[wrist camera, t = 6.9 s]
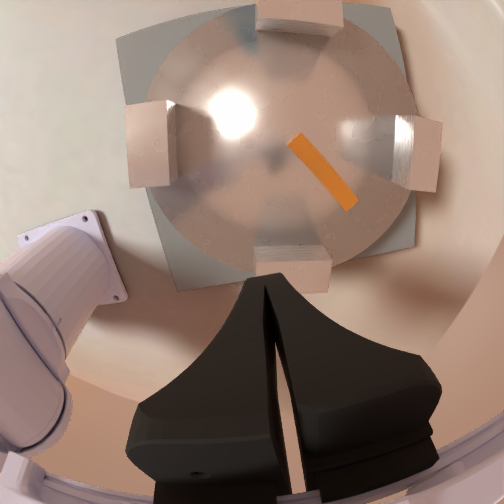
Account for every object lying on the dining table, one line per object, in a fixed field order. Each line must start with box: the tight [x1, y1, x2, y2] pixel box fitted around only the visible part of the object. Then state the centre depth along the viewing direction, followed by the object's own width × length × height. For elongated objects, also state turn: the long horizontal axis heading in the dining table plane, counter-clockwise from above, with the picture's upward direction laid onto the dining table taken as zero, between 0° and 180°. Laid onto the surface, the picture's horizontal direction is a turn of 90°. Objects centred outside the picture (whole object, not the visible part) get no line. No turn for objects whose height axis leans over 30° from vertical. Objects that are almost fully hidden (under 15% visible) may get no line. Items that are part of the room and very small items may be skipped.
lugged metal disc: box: [125, 0, 442, 294], centre depth 14 cm, size 16×16×4 cm
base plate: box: [116, 3, 416, 292], centre depth 17 cm, size 18×18×2 cm
